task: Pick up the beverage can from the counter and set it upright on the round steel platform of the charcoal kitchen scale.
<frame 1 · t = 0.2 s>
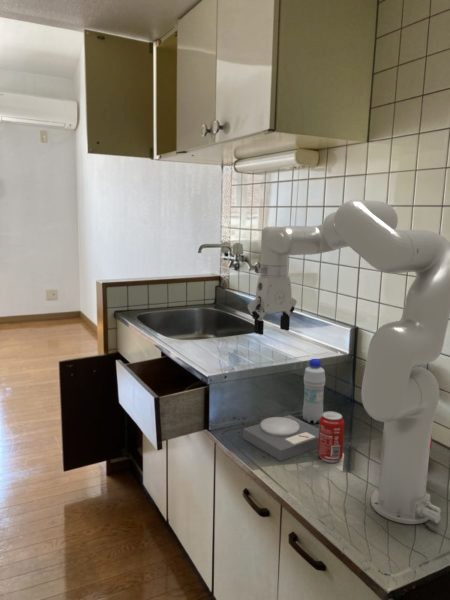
hand: (271, 331, 135), 31 cm above the worktop, fingers open, 9 cm apart
tomato: (406, 461, 126), on the worktop
bottle: (312, 421, 150), on the worktop
scale: (285, 441, 135), on the worktop
beverage can: (329, 459, 126), on the worktop
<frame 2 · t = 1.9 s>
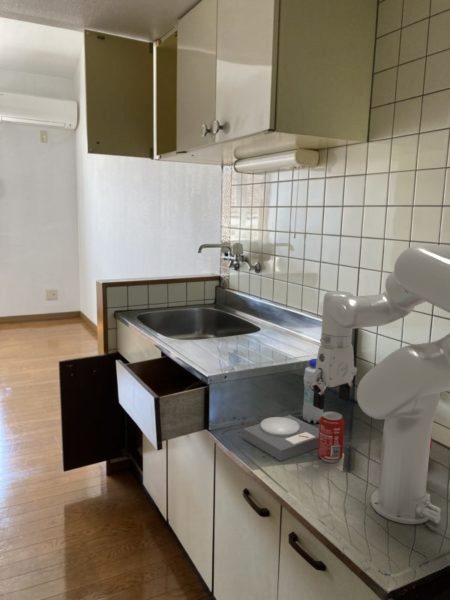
hand: (331, 403, 124), 15 cm above the worktop, fingers open, 9 cm apart
nothing on the worktop moved.
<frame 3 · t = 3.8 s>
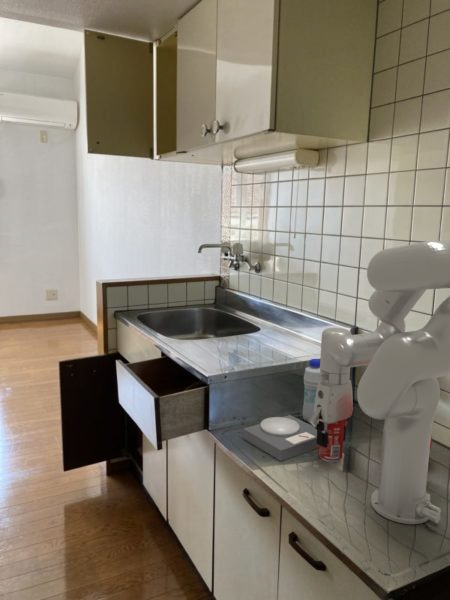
hand: (330, 441, 125), 5 cm above the worktop, fingers closed on beverage can, 6 cm apart
beverage can: (329, 459, 126), on the worktop, touching gripper
everything else where it was.
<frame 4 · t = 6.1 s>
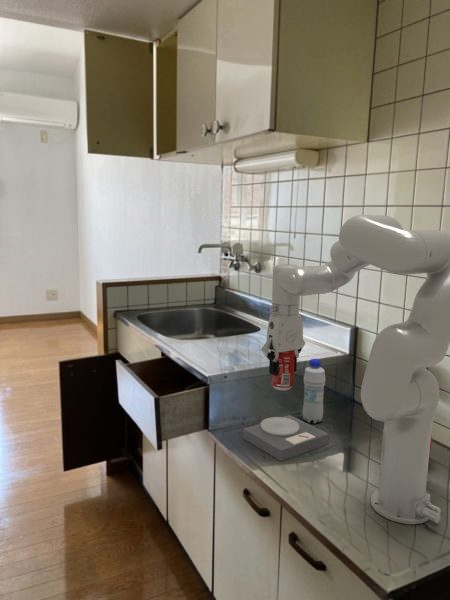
hand: (282, 371, 134), 20 cm above the worktop, fingers closed on beverage can, 6 cm apart
beverage can: (281, 388, 135), point 15 cm above the worktop, touching gripper
everything else where it was.
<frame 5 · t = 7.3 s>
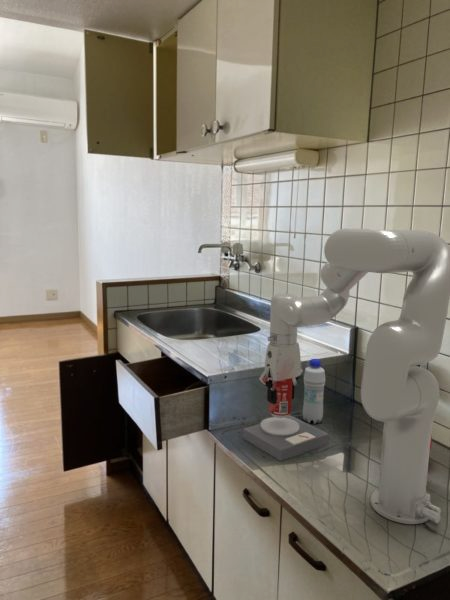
hand: (280, 399, 136), 12 cm above the worktop, fingers closed on beverage can, 6 cm apart
beverage can: (279, 415, 136), point 7 cm above the worktop, touching gripper
everything else where it was.
when the fingers open (10 cm above the worktop, at t = 8.4 s): beverage can drops 1 cm, resting on scale.
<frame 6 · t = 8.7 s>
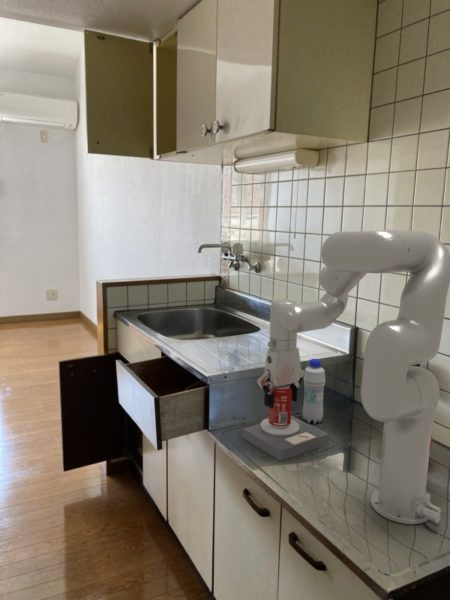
hand: (280, 403, 136), 11 cm above the worktop, fingers open, 8 cm apart
beverage can: (279, 425, 136), point 4 cm above the worktop, touching scale
everything else where it was.
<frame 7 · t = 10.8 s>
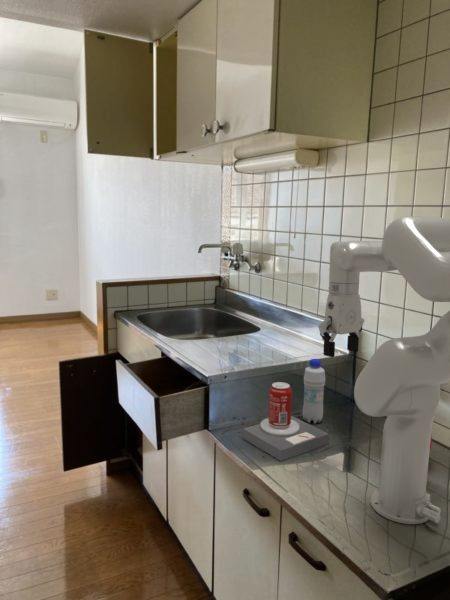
hand: (341, 353, 126), 27 cm above the worktop, fingers open, 9 cm apart
nothing on the worktop moved.
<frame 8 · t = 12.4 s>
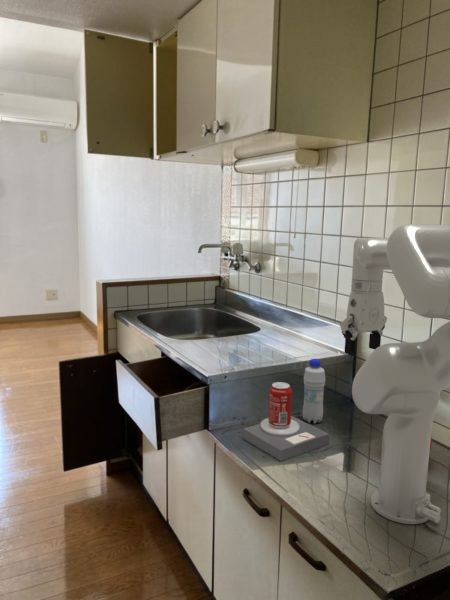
hand: (362, 351, 124), 28 cm above the worktop, fingers open, 9 cm apart
nothing on the worktop moved.
at the end: beverage can inside the target area on the scale (0.4 cm from its centre), point 3.8 cm above the scale's base; beverage can tilted 0°; beverage can touching scale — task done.
